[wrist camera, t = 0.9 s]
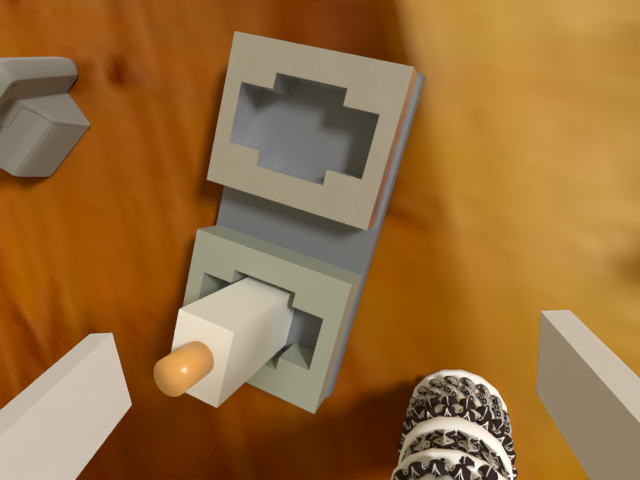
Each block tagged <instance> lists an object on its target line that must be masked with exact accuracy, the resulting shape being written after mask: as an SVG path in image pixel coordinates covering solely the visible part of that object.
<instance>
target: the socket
mask: <svg viewBox="0 0 640 480" xmlns="http://www.w3.org/2000/svg"><path fill="white" fill-rule="evenodd" d="M418 80H419V76H418V74H417V72H416V70H415V68H414V67H412V66H407V65H402V64H397V63H392V62H387V61H382V60H377V59H372V58H367V57H362V56H357V55H352V54H347V53H342V52H337V51H332V50H327V49H322V48H317V47H312V46H307V45H302V44H297V43H292V42H287V41H282V40H277V39H272V38H267V37H262V36H257V35H252V34H247V33H242V32H237V31H235V32H234V38H233V43H232V48H231V54H230V59H229V64H228V69H227V75H226V80H225V85H224V91H223V96H222V101H221V106H220V112H219V117H218V122H217V128H216V133H215V138H214V143H213V149H212V154H211V159H210V165H209V170H208V175H207V180H210V181H213V182H216V183H219V184H222V185H225V186H228V187H232V188H235V189H238V190H241V191H244V192H247V193H250V194H254V195H257V196H260V197H263V198H266V199H269V200H272V201H276V202H279V203H282V204H285V205H288V206H291V207H294V208H297V209H301V210H304V211H307V212H310V213H313V214H316V215H319V216H323V217H326V218H329V219H332V220H335V221H338V222H341V223H345V224H348V225H351V226H354V227H357V228H360V229H363V230H369V229H371V228H373V227H375V226H376V224H377V221H378V218H379V214H380V211H381V207H382V204H383V200H384V197H385V194H386V190H387V187H388V183H389V180H390V176H391V173H392V170H393V166H394V163H395V159H396V156H397V152H398V149H399V146H400V142H401V139H402V135H403V132H404V128H405V125H406V122H407V118H408V115H409V111H410V108H411V104H412V101H413V98H414V94H415V91H416V87H417V84H418ZM293 81H294V82H298V83H303V84H307V85H312V86H316V87H320V88H325V89H329V90H334V91H338V92H342V93H346V96H345V100H344V104H343V106H345V107H346V108H348V109H350V110H352V111H354V112H357V113H361V114H365V115H369V116H374V117H378V118H379V119H378V122H377V126H376V130H375V133H374V137H373V141H372V144H371V148H370V151H369V155H368V159H367V162H366V166H365V170H364V173H363V177H362V176H359V175H355V174H352V173H348V172H344V171H341V170H327V171H326V175H325V179H324V181H322V180H318V179H315V178H311V177H308V176H305V175H301V174H298V173H294V172H291V171H288V170H284V169H281V168H277V167H274V166H275V161H276V157H277V152H274V151H270V150H267V149H263V148H259V147H256V146H252V145H249V144H250V139H251V134H252V130H253V125H254V120H255V115H256V110H257V106H258V101H259V96H260V91H261V90H265V91H269V92H273V93H277V94H282V95H286V96H290V95H291V90H292V86H293Z"/></svg>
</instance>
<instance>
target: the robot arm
mask: <svg viewBox="0 0 640 480" xmlns="http://www.w3.org/2000/svg"><path fill="white" fill-rule="evenodd" d="M536 393H537V395H538V396H539V398H540V399H541V401H542V403H543V404H544V406H545V407H546V409H547V411H548V412H549V414H550V416H551V417H552V419H553V420H554V422H555V424H556V425H557V427H558V428H559V430H560V432H561V433H562V435H563V437H564V438H565V440H566V441H567V443H568V445H569V446H570V448H571V449H572V451H573V453H574V454H575V456H576V458H577V459H578V461H579V462H580V464H581V466H582V467H583V469H584V470H585V472H586V474H587V475H588V477H589V479H590V480H640V378H639V377H638V376H637V375H636V374H635V373H634V372H633V371H632V370H631V369H630V368H628V367H627V366H626V365H625V364H624V363H623V362H622V361H621V360H620V359H619V358H618V357H617V356H616V355H615V354H614V353H613V352H612V351H611V350H610V349H609V348H608V347H607V346H606V345H605V344H604V343H603V342H602V341H601V340H600V339H599V338H598V337H597V336H596V335H595V334H593V333H592V332H591V331H590V330H589V329H588V328H587V327H586V326H585V325H584V324H583V323H582V322H581V321H580V320H579V319H578V318H577V317H576V316H575V315H574V314H573V313H572V312H571V311H570V310H554V311H541V316H540V334H539V352H538V370H537V388H536ZM131 405H132V403H131V400H130V396H129V392H128V389H127V385H126V382H125V378H124V374H123V371H122V367H121V364H120V360H119V356H118V353H117V349H116V345H115V342H114V338H113V335H112V333H99V334H89V335H88V336H87V337H86V338H85V339H83V340H82V341H81V342H80V343H79V344H77V345H76V346H75V347H74V348H73V349H72V350H70V351H69V352H68V353H67V354H66V355H65V356H63V357H62V358H61V359H60V360H59V361H58V362H56V363H55V364H54V365H53V366H52V367H50V368H49V369H48V370H47V371H46V372H45V373H43V374H42V375H41V376H40V377H39V378H38V379H36V380H35V381H34V382H33V383H32V384H31V385H29V386H28V387H27V388H26V389H25V390H23V391H22V392H21V393H20V394H19V395H18V396H16V397H15V398H14V399H13V400H12V401H11V402H9V403H8V404H7V405H6V406H5V407H4V408H2V409H1V410H0V480H75V479H76V478H77V477H78V475H79V474H80V473H81V471H82V470H83V469H84V467H85V466H86V465H87V463H88V462H89V461H90V459H91V458H92V457H93V455H94V454H95V453H96V452H97V450H98V449H99V448H100V446H101V445H102V444H103V442H104V441H105V440H106V438H107V437H108V436H109V434H110V433H111V432H112V430H113V429H114V428H115V426H116V425H117V424H118V422H119V421H120V420H121V418H122V417H123V416H124V414H125V413H126V412H127V411H128V409H129V408H130V407H131Z"/></svg>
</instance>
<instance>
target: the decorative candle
mask: <svg viewBox="0 0 640 480" xmlns="http://www.w3.org/2000/svg"><path fill="white" fill-rule="evenodd" d="M409 405H410V406H409V407H408V408H407V412H406V416H407V417H406V419H405V421H404V423H403V425H404V428H403V429H402V432H401V440H402V441H401V442H400V443H399V444H398V452H399V454H400V458H399V462H398V467H396V468H395V469H394V470H393V474H392V477H391V480H515V479H516V478H517V470H516V468H515V467H514V466H513V464H514V463H515V458H516V454H515V452H514V450H513V440H512V438H511V433H512V427H511V425H510V424H509V422H510V417H509V414H508V413H507V407H506V405H505V403H504V402H503V400H502V398H501V396H500V394H499V393H498V391H497V389H495V388H494V387H493V386H492V385H491V384H489V383H488V382H487V381H486V380H485V379H483V378H482V377H481V376H478V375H475V374H473V373H470V372H467V371H464V370H447V369H443V370H440V371H438V372H435V373H432V374H430V375H427V376H426V377H425V378H424V379H423V380H422V381H421V382H420V383H419V384H418V385H417V386H416V387H415V389H414V392H413V395H412V397H411V398H410V404H409Z"/></svg>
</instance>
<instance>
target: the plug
mask: <svg viewBox="0 0 640 480" xmlns="http://www.w3.org/2000/svg"><path fill="white" fill-rule="evenodd" d="M294 297H295V292H292V291H290V290H287V289H284V288H282V287H279V286H276V285H274V284H271V283H268V282H266V281H263V280H261V279H258V278H255V277H253V276H249V277H247V278H245V279H243V280H241V281H238V282H236V283H234V284H232V285H230V286H228V287H225V288H223V289H221V290H219V291H217V292H215V293H213V294H210V295H208V296H206V297H204V298H202V299H200V300H197V301H195V302H193V303H191V304H189V305H187V306H184V307H182V308H180V309H179V312H178V318H177V323H176V328H175V334H174V339H173V344H172V350H171V354H169V355H167V356H166V357H164V358H162V359H161V360H159V361H158V362H157V363H156V365H155V367H154V372H153V375H154V380H155V383H156V385H157V386H158V388H159V389H160V390H161V391H162V392H163V393H164V394H166V395H168V396H171V397H177V396H180V395H182V394H183V393H184V392H186V393H188V394H190V395H192V396H194V397H196V398H198V399H200V400H202V401H204V402H206V403H208V404H210V405H212V406H214V407H216V408H217V407H219V406H220V405H221V404H222V403H223V402H224V401H225V400H226V399H227V398H228V397H229V396H230V395H232V394H233V393H234V392H235V391H236V390H237V389H238V388H239V387H240V386H241V385H242V384H243V383H245V382H246V381H247V380H248V379H249V378H250V377H251V376H252V375H253V374H254V373H255V372H256V371H258V370H259V369H260V368H261V367H262V366H263V365H264V364H265V363H266V362H267V361H268V360H269V359H271V358H272V357H273V356H274V355H275V354H276V353H277V352H278V351H279V350H280V349H281V348H282V347H284V346H285V345H286V341H287V337H288V333H289V330H290V326H291V322H292V318H293V314H294V310H295V308H294V307H292V305H293V301H294Z"/></svg>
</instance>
